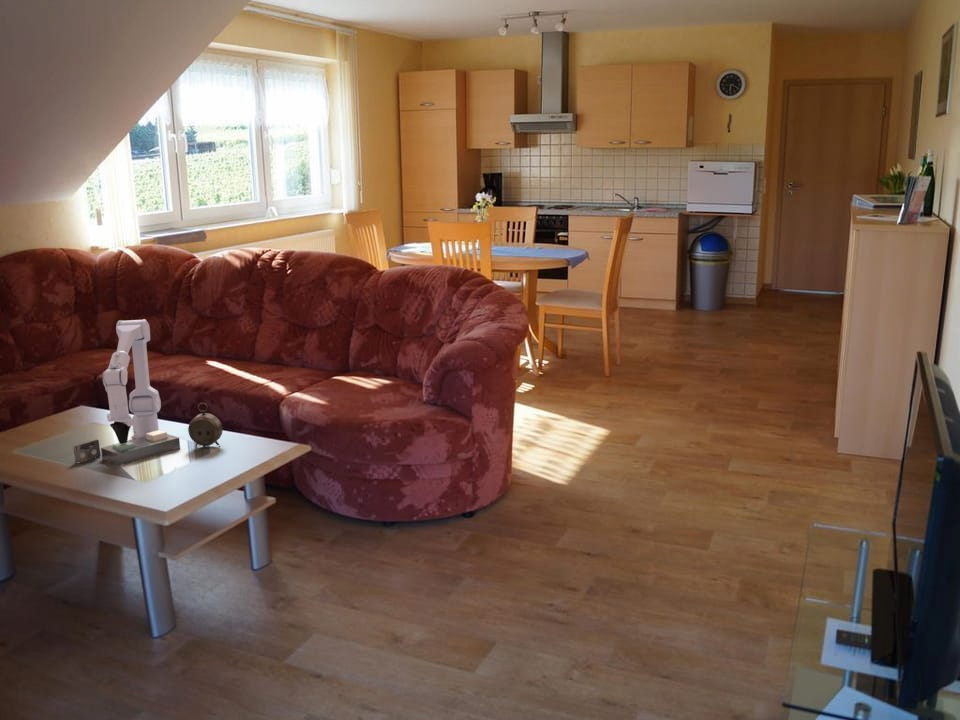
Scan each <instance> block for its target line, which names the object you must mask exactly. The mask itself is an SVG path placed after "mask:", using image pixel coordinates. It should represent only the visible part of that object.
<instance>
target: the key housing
mask: <svg viewBox="0 0 960 720" xmlns="http://www.w3.org/2000/svg"><path fill="white" fill-rule="evenodd" d="M127 441H128V442H131V443H134V446H135V447H133V448H129V449H125V450H122V451H118V450H115V449H113V444H111V445H107V446H104V447H100V453H101V458H102V460H104V461H106V462H109V463H111V464H114V465H117V466H119V467H121V466H124V465H127V464H132V463H135V462H138V461H141V460H145V459H148V458H149V459H150V458H152V457H157V456H159V455H163V454H166V453H171V452H173V451H174V452H175V451H177V450H180V449H181V445H180V444H181V441H180V437H178V436H175V435H172V434H169V433H167V438H166V439H162V440H159V441H155V442H152V441H149V440H146V436H144V437H141V438H137V439H136V438H134V439H130V440H127Z"/></svg>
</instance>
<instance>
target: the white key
mask: <svg viewBox="0 0 960 720" xmlns="http://www.w3.org/2000/svg"><path fill="white" fill-rule="evenodd" d="M167 434H168V433H167V432H166V431H163V430H160V429H159V430H157V431H153V432H149V433H146V440H149V441H152V442H155V441H159V440H162V439H166V438H167Z"/></svg>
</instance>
